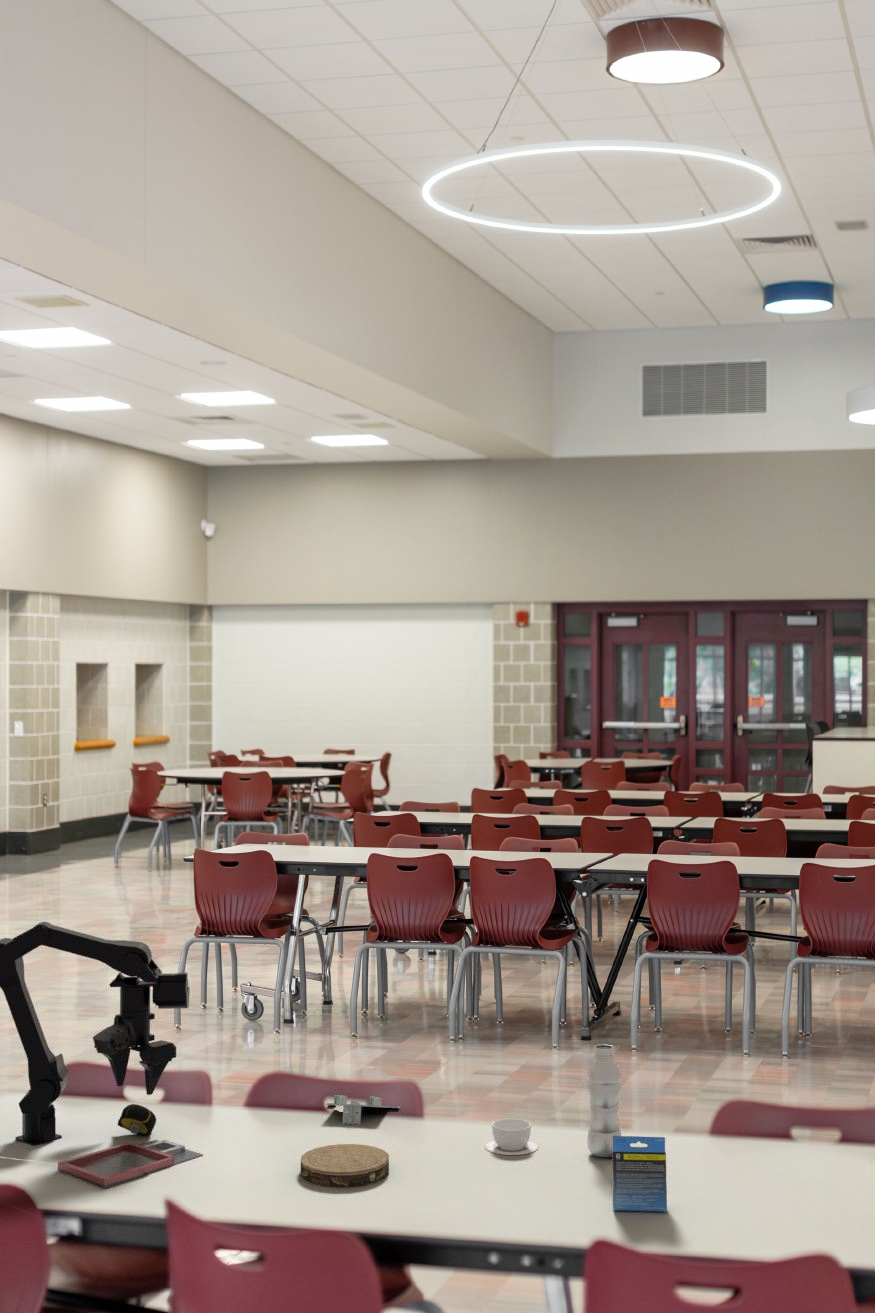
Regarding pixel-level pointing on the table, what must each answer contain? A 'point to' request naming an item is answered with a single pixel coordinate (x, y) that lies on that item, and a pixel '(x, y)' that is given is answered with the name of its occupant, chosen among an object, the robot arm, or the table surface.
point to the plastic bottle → (603, 1101)
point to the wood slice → (344, 1166)
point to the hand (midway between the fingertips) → (134, 1090)
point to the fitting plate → (125, 1162)
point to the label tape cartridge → (639, 1174)
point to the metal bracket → (355, 1108)
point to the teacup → (511, 1137)
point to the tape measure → (137, 1120)
